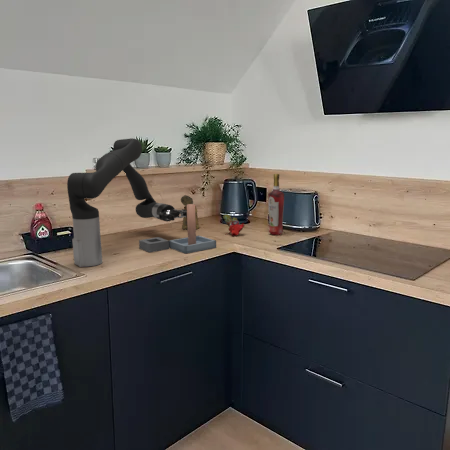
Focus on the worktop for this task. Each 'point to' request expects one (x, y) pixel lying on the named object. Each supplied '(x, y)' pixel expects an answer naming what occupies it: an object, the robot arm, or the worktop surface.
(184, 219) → the olive lidded jar
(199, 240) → the tray
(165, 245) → the socket block
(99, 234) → the robot arm
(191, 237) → the dowel
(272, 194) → the liquor
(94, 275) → the worktop surface
